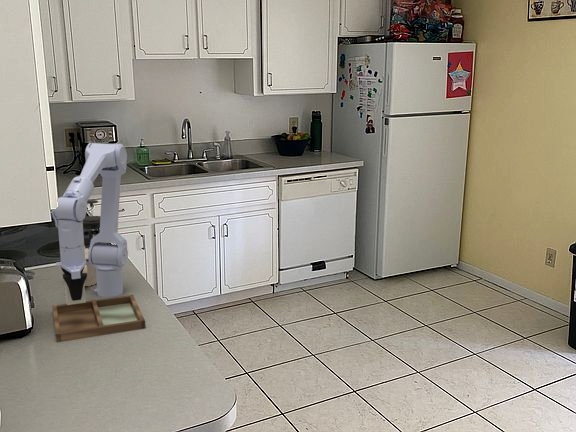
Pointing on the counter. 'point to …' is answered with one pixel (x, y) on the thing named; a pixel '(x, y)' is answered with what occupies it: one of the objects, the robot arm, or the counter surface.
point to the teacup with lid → (89, 271)
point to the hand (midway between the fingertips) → (75, 296)
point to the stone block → (69, 299)
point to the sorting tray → (97, 318)
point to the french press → (91, 224)
